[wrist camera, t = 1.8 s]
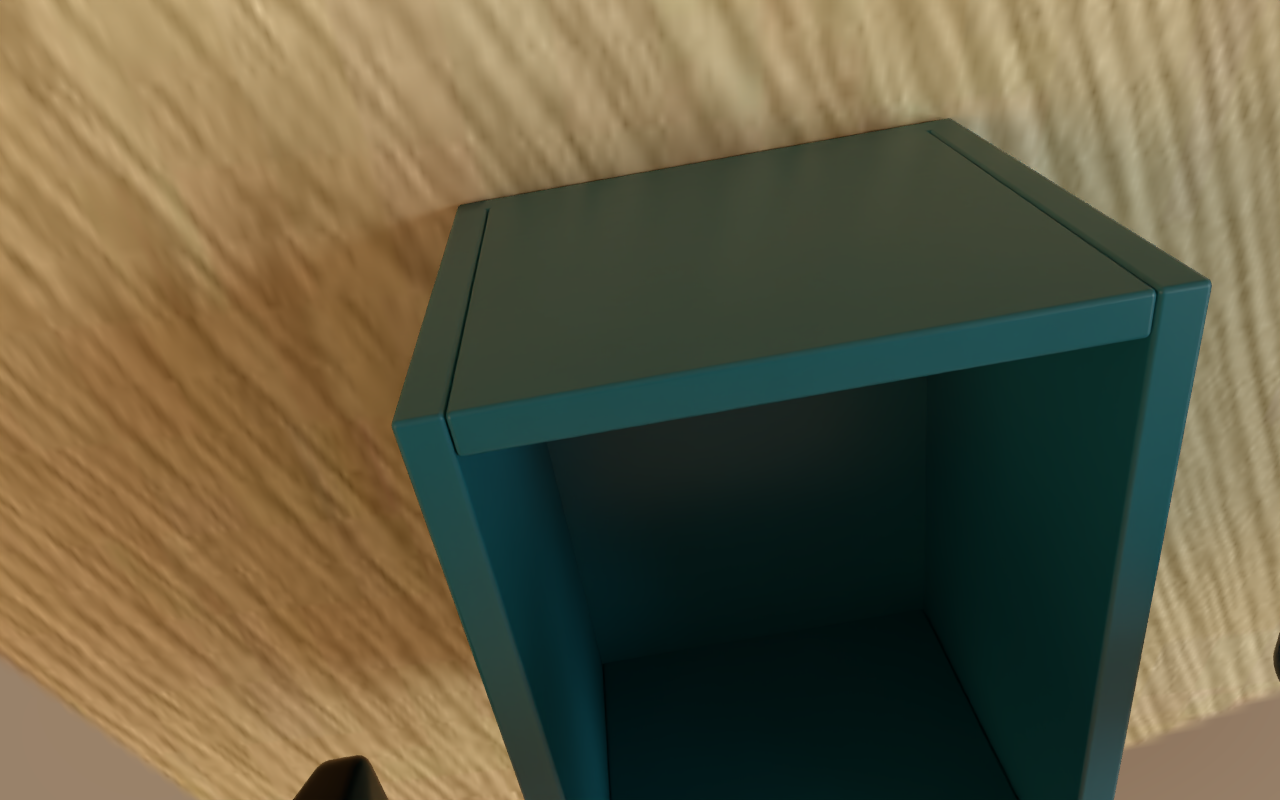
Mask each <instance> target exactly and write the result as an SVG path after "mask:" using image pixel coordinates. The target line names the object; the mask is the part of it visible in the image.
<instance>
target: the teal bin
mask: <svg viewBox="0 0 1280 800" xmlns="http://www.w3.org/2000/svg"><path fill="white" fill-rule="evenodd" d="M1211 287H1212V285H1211V282H1210V280H1209V279H1208V278H1206V277H1204V276H1203V275H1201V274H1200V273H1198V272H1196V271H1195V270H1193V269H1192V268H1190V267H1188V266H1187V265H1185V264H1183V263H1182V262H1180V261H1179V260H1177V259H1175V258H1174V257H1172V256H1171V255H1169V254H1167V253H1166V252H1164V251H1163V250H1161V249H1159V248H1158V247H1156V246H1155V245H1153V244H1151V243H1150V242H1148V241H1147V240H1145V239H1143V238H1142V237H1140V236H1139V235H1137V234H1135V233H1134V232H1132V231H1130V230H1129V229H1127V228H1126V227H1124V226H1122V225H1121V224H1119V223H1118V222H1116V221H1114V220H1113V219H1111V218H1110V217H1108V216H1106V215H1105V214H1103V213H1102V212H1100V211H1098V210H1097V209H1095V208H1094V207H1092V206H1090V205H1089V204H1087V203H1085V202H1084V201H1082V200H1081V199H1079V198H1077V197H1076V196H1074V195H1073V194H1071V193H1069V192H1068V191H1066V190H1065V189H1063V188H1061V187H1060V186H1058V185H1057V184H1055V183H1053V182H1052V181H1050V180H1049V179H1047V178H1045V177H1044V176H1042V175H1041V174H1039V173H1037V172H1036V171H1034V170H1032V169H1031V168H1029V167H1028V166H1026V165H1024V164H1023V163H1021V162H1020V161H1018V160H1016V159H1015V158H1013V157H1012V156H1010V155H1008V154H1007V153H1005V152H1004V151H1002V150H1000V149H999V148H997V147H996V146H994V145H992V144H991V143H989V142H987V141H986V140H984V139H983V138H981V137H979V136H978V135H976V134H975V133H973V132H971V131H970V130H968V129H967V128H965V127H963V126H962V125H960V124H959V123H957V122H955V121H954V120H952V119H949V118H948V119H943V120H937V121H931V122H926V123H920V124H915V125H909V126H903V127H898V128H892V129H886V130H881V131H875V132H869V133H864V134H858V135H853V136H847V137H841V138H836V139H830V140H824V141H819V142H813V143H807V144H802V145H796V146H791V147H785V148H779V149H774V150H768V151H762V152H757V153H751V154H745V155H740V156H734V157H729V158H723V159H717V160H712V161H706V162H700V163H695V164H689V165H683V166H678V167H672V168H667V169H661V170H655V171H650V172H644V173H638V174H633V175H627V176H621V177H616V178H610V179H605V180H599V181H593V182H588V183H582V184H576V185H571V186H565V187H560V188H554V189H548V190H543V191H537V192H531V193H526V194H520V195H514V196H509V197H503V198H498V199H492V200H486V201H481V202H475V203H469V204H464V205H460V206H459V207H458V209H457V212H456V216H455V219H454V222H453V225H452V229H451V232H450V235H449V238H448V242H447V245H446V248H445V252H444V255H443V258H442V261H441V265H440V268H439V271H438V274H437V278H436V281H435V284H434V287H433V291H432V294H431V297H430V300H429V304H428V307H427V310H426V313H425V317H424V320H423V323H422V327H421V330H420V333H419V336H418V340H417V343H416V346H415V349H414V353H413V356H412V359H411V362H410V366H409V369H408V372H407V375H406V379H405V382H404V385H403V388H402V392H401V395H400V398H399V401H398V405H397V408H396V411H395V415H394V418H393V421H392V429H393V432H394V435H395V438H396V440H397V443H398V446H399V449H400V452H401V454H402V457H403V460H404V463H405V466H406V469H407V471H408V474H409V477H410V480H411V483H412V485H413V488H414V491H415V494H416V497H417V499H418V502H419V505H420V508H421V511H422V513H423V516H424V519H425V522H426V525H427V527H428V530H429V533H430V536H431V539H432V541H433V544H434V547H435V550H436V553H437V555H438V558H439V561H440V564H441V567H442V569H443V572H444V575H445V578H446V581H447V583H448V586H449V589H450V592H451V595H452V597H453V600H454V603H455V606H456V609H457V612H458V614H459V617H460V620H461V623H462V626H463V628H464V631H465V634H466V637H467V640H468V642H469V645H470V648H471V651H472V654H473V656H474V659H475V662H476V665H477V668H478V670H479V673H480V676H481V679H482V682H483V684H484V687H485V690H486V693H487V696H488V698H489V701H490V704H491V707H492V710H493V712H494V715H495V718H496V721H497V724H498V726H499V729H500V732H501V735H502V738H503V740H504V743H505V746H506V749H507V752H508V755H509V757H510V760H511V763H512V766H513V769H514V771H515V774H516V777H517V780H518V783H519V785H520V788H521V791H522V794H523V797H524V799H525V800H1114V795H1115V790H1116V785H1117V780H1118V774H1119V769H1120V764H1121V759H1122V754H1123V748H1124V743H1125V738H1126V733H1127V727H1128V722H1129V717H1130V712H1131V706H1132V701H1133V696H1134V691H1135V686H1136V680H1137V675H1138V670H1139V665H1140V659H1141V654H1142V649H1143V644H1144V638H1145V633H1146V628H1147V623H1148V617H1149V612H1150V607H1151V602H1152V596H1153V591H1154V586H1155V581H1156V575H1157V570H1158V565H1159V560H1160V554H1161V549H1162V544H1163V539H1164V533H1165V528H1166V523H1167V518H1168V512H1169V507H1170V502H1171V497H1172V491H1173V486H1174V481H1175V476H1176V470H1177V465H1178V460H1179V455H1180V450H1181V444H1182V439H1183V434H1184V429H1185V423H1186V418H1187V413H1188V408H1189V402H1190V397H1191V392H1192V387H1193V381H1194V376H1195V371H1196V366H1197V360H1198V355H1199V350H1200V345H1201V339H1202V334H1203V329H1204V324H1205V318H1206V313H1207V308H1208V303H1209V297H1210V292H1211Z"/></svg>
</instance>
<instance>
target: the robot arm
mask: <svg viewBox="0 0 1280 800" xmlns="http://www.w3.org/2000/svg"><path fill="white" fill-rule="evenodd" d="M1273 661H1274V667H1275V671H1276V674H1277V677H1278V679H1279V681H1280V633H1279V636H1278V640H1277V643H1276V647H1275V650H1274V655H1273ZM293 800H388V798H387V796H386V794H385V792H384V790H383V788H382V786H381V784H380V782H379V780H378V777H377V775H376V773H375V771H374V769H373V767H372V765H371V763H370V762H369V760H368V759H367V758H365V757H364V756H362V755H356V756H350V757H344V758H338V759H333V760H328V761H325V762H324V763H322V764H321V765H320V766H319V767H317V769H316V770H315V771H314V772H313V774H312V775H311V776H310V778H309V779H308V780H307V782H306V783H305V784H304V786H303V787H302V788H301V790H300V791H299V792H298V794H297V795H296V796H295V798H294V799H293Z"/></svg>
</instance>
